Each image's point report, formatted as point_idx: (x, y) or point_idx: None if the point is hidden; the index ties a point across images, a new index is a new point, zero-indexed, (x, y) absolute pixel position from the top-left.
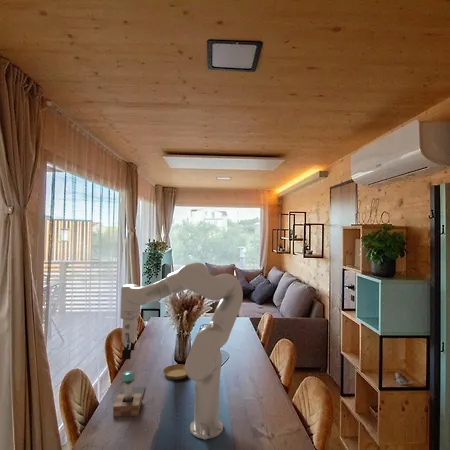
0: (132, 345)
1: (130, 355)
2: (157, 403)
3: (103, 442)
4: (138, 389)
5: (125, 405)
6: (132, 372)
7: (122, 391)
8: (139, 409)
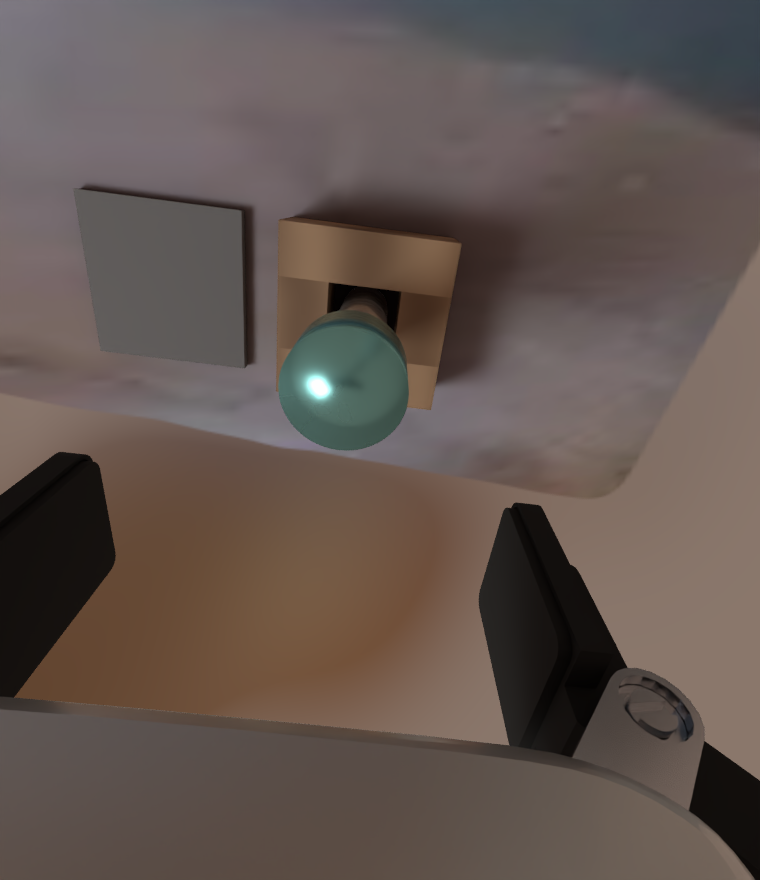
0: (39, 538)
1: (557, 542)
2: (327, 79)
3: (641, 412)
4: (123, 243)
5: (437, 337)
6: (326, 354)
7: (154, 355)
8: (403, 232)
